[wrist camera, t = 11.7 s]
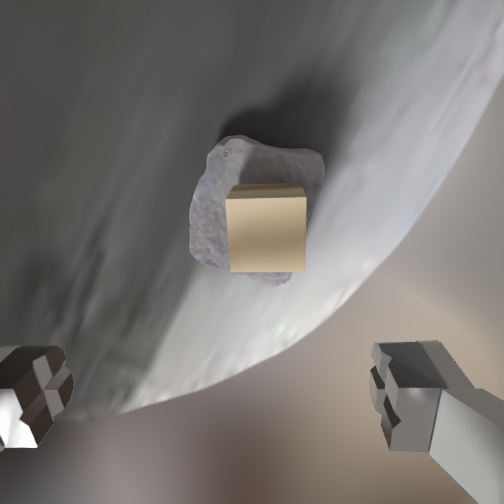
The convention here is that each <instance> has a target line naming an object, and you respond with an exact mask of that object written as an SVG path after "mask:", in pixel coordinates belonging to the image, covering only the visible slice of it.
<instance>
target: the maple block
mask: <svg viewBox="0 0 504 504" xmlns="http://www.w3.org/2000/svg"><path fill="white" fill-rule="evenodd" d="M225 204H226V218H227V232H228V247H229V261H230V272H305V252H306V195H305V192H304V189H303V187H302V184H301V183H273V184H238V185H234V186H233V188H232V189H231V191H230V192H229V194H228V196H227V197H226V199H225Z"/></svg>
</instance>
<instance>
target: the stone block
mask: <svg viewBox="0 0 504 504" xmlns="http://www.w3.org/2000/svg"><path fill="white" fill-rule="evenodd" d="M324 176H325V165H324V160H323V157H322V154H321V153H319V152H316V151H314V150H312V149H308V148H298V149H297V148H294V149H288V148H277V147H273V146H269V145H263V144H262V143H260V142H258V141H256V140H253V139H251V138H249V137H247V136H244V135H236V136H227V137H224V138H223V139H222V140H221V141H220V142H219V143H217V144H216V145H215V146H214V148H213V149H212V150H211V151H210V152H209V154H208V157H207V165H206V168H205V170H204V172H203V175H202V176H201V178H200V179H199V181H198V184H197V187H196V189H195V192H194V195H193V200H192V202H191V206H190V211H189V219H190V228H189V232H190V245H189V249H190V253H191V254H192V255H193V257H195V258H196V259H197V260H198V261H199V262H201V263H204V264H206V265H209V266H212V267H215V268H217V269H219V270H222V271H224V272H227V273H231V274H233V275H239V276H242V277H244V278H246V279H248V280H250V281H253V282H255V283H257V284H260V285H263V286H269V287H275V286H278V285H280V284H284V283H286V282H287V281H289V280H290V277H291V275H292V272H230V261H229V247H228V232H227V218H226V204H225V199H226V197H227V196H228V194H229V192H230V191H231V189H232V188H233V186H234V185H238V184H273V183H301V184H302V187H303V189H304V192H305V195H306V228H307V224H308V221H309V218H310V215H311V212H312V209H313V206H314V203H315V200H316V198H317V195H318V193H319V191H320V189H321V186H322V183H323V180H324Z"/></svg>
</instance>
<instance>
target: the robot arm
mask: <svg viewBox="0 0 504 504" xmlns="http://www.w3.org/2000/svg"><path fill="white" fill-rule="evenodd" d="M372 358H373V360H374V363H375V366H374V367H373V368H372V369H371V370H370V391H371V396H372V401H373V404H374V407H375V410H376V411H378V412H379V413H380V414H381V415H382V419H381V427H382V430H383V433H384V436H385V438H386V441H387V444H388V447H389V450H390V451H407V452H430V453H429V455H430V456H431V457H432V458H433V459H434V460H435V461H436V462H437V463H438V464H439V465H441V466H442V467H443V468H444V469H445V470H446V471H447V472H448V473H449V474H450V475H451V476H452V477H453V478H454V479H455V480H456V481H457V482H458V483H459V484H460V485H461V486H462V487H463V488H464V489H465V490H466V491H467V492H468V493H469V494H470V495H471V496H472V497H473V498H474V499H475V500H476V501H477V502H478V503H479V504H504V401H503V400H501V399H499V398H498V397H496V396H494V395H492V394H490V393H489V392H487V391H485V390H484V389H475V387H474V386H473V385H472V383H471V382H470V381H469V379H468V378H467V377H466V376H465V374H464V373H463V372H462V370H461V369H460V368H459V366H458V365H457V363H456V362H455V361H454V359H453V358H452V357H451V355H450V354H449V353H448V351H447V350H446V349H445V347H444V346H443V344H442V343H441V342H439V341H437V340H435V341H416V342H381V343H379V342H378V343H374V345H373V349H372ZM66 359H67V358H66V355H65V353H64V350H63V348H61V347H58V346H3V347H0V452H1V451H2V450H3V448H14V447H38V445H39V444H40V442H41V441H42V440H43V438H44V437H45V435H46V434H47V433H48V431H49V430H50V428H51V427H52V425H53V424H54V420H53V416H54V415H56V414H57V413H59V412H60V411H62V410H63V409H64V408H65V407H66V405H67V404H68V402H69V401H70V399H71V396H72V392H73V389H74V381H73V376H72V373H71V371H69V370H68V369H67V368H66V367H65V366H64V363H65V361H66Z"/></svg>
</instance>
